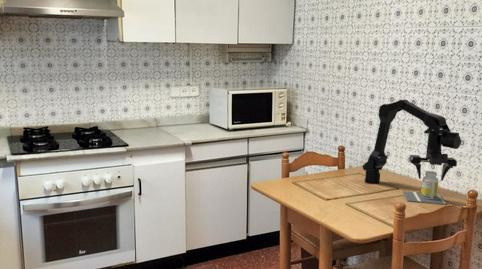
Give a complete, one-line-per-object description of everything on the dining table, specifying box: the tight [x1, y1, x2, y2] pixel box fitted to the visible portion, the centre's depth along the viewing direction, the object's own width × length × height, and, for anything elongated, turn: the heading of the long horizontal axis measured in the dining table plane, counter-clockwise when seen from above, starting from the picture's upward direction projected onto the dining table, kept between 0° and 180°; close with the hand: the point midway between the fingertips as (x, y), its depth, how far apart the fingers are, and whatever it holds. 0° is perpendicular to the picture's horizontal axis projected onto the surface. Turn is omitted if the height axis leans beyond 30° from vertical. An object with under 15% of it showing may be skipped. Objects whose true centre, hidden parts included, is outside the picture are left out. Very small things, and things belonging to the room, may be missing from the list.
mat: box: [402, 190, 447, 206], centre depth 207 cm, size 16×14×1 cm
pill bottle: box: [420, 170, 439, 199], centre depth 206 cm, size 6×6×12 cm
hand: (430, 179), depth 205 cm, fingers open, 9 cm apart
